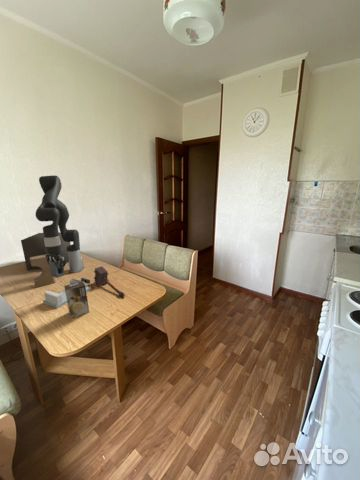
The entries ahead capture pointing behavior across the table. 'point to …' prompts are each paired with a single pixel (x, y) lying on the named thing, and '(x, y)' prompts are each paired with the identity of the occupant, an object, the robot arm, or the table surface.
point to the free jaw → (80, 281)
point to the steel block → (55, 269)
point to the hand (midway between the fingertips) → (57, 272)
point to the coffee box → (76, 299)
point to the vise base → (63, 295)
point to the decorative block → (45, 276)
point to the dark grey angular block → (39, 248)
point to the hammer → (104, 279)
